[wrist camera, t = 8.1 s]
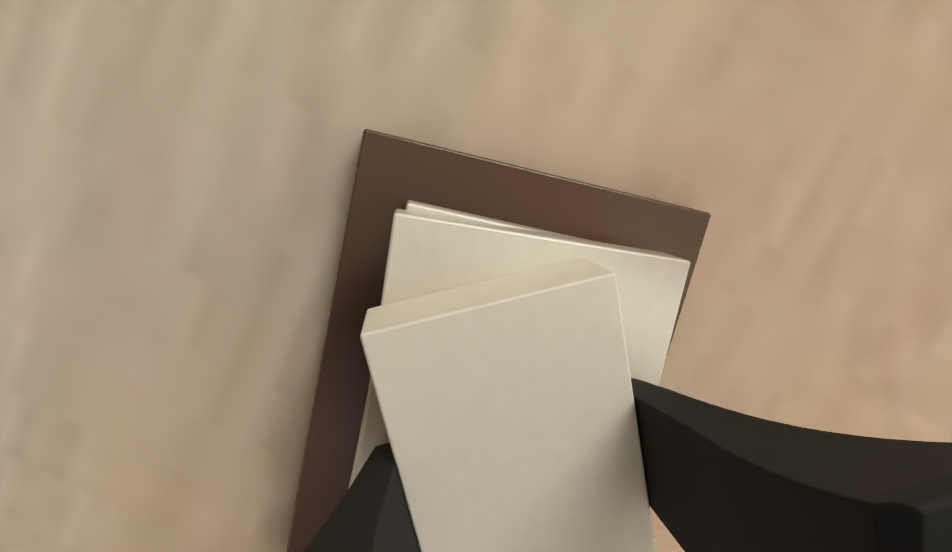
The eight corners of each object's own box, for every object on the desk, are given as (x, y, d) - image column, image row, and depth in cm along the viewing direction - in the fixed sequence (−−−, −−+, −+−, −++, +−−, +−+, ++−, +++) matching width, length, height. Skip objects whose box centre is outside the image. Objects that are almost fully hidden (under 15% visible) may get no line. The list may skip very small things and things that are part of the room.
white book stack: (584, 576, 17) (626, 672, 14) (288, 550, 15) (257, 652, 12) (696, 211, 15) (778, 222, 12) (366, 130, 13) (353, 117, 10)
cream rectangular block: (630, 546, 13) (665, 603, 11) (446, 600, 13) (453, 670, 11) (583, 256, 11) (616, 272, 9) (366, 308, 11) (359, 334, 9)
